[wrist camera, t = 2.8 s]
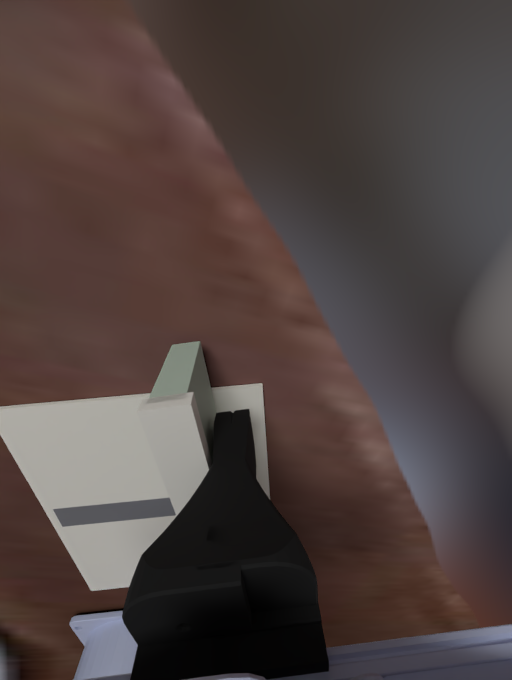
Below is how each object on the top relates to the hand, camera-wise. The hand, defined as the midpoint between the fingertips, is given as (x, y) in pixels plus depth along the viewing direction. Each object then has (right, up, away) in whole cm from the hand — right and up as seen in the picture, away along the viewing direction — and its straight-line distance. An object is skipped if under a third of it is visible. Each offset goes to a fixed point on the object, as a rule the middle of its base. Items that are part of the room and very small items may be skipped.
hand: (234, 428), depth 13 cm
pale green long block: (-1, -1, +2) cm, 3 cm away
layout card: (-5, -6, +5) cm, 9 cm away
